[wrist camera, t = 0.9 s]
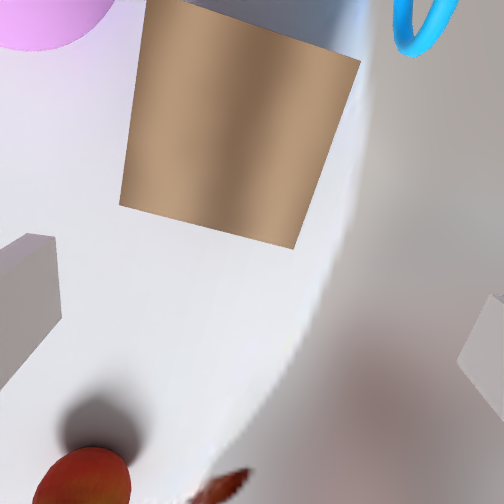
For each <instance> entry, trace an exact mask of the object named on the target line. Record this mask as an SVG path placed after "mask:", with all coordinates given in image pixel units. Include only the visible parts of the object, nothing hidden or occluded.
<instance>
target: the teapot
mask: <svg viewBox="0 0 504 504" xmlns="http://www.w3.org/2000/svg"><path fill="white" fill-rule="evenodd" d="M113 2H114V0H0V47H4V48H8V49H13V50H21V51H43V50H49V49H55V48H58V47H61V46H64V45H67V44H69V43H71V42H73V41H75V40H77V39H79V38H81V37H82V36H83V35H85V34H86V33H87V32H89V31H90V30H91V29H93V28H94V27H95V26H96V24H97V23H98V22H99V21H100V20H101V19H102V18H103V17H104V16H105V14H106V13H107V11H108V10H109V9H110V7H111V6H112V4H113Z"/></svg>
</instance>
